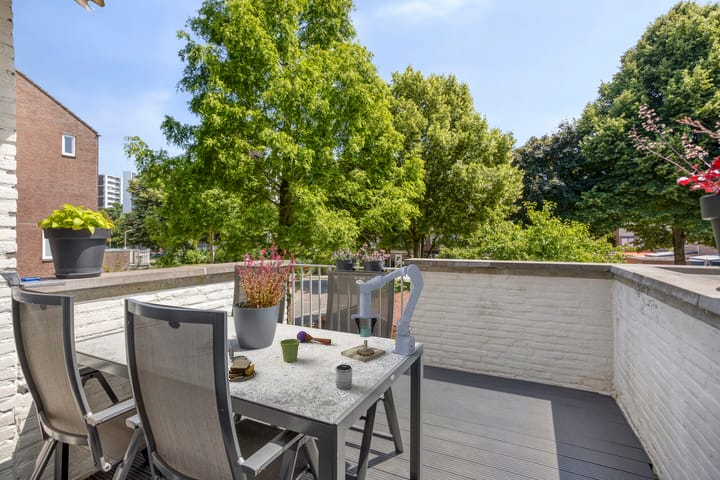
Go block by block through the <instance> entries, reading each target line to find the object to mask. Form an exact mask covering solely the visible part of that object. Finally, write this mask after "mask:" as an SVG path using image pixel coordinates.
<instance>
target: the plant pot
mask: <svg viewBox="0 0 720 480" xmlns="http://www.w3.org/2000/svg"><path fill="white" fill-rule="evenodd" d="M300 343H301V342H300V340H298V339H297V338H287V339H283V340H280V341H279V344H280V347H281V352H282V358H283V362H286V363H287V362H290V363H293V362H295V361H297V359H298V352H299V346H300Z"/></svg>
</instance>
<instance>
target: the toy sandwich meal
mask: <svg viewBox="0 0 720 480" xmlns="http://www.w3.org/2000/svg"><path fill="white" fill-rule="evenodd" d="M228 371H229V378H230V381H229V382H240V381H239V380H242V381H246V380H248V379H251V378H252V377H254V376H255V375H256V370H255V364H254V363H253V364H252V360H251V359H246V360H234V361H232V364H231V365H230V368H229V369H228Z"/></svg>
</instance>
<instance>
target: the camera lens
mask: <svg viewBox="0 0 720 480" xmlns="http://www.w3.org/2000/svg"><path fill="white" fill-rule="evenodd" d="M352 385H353V367H352V366H351V365H350V364H341V363H340V364H339V365H337V366H336V368H335V386H336V389H339V390H341V391H342V390H344V391H345V390H350V389H351V388H352Z"/></svg>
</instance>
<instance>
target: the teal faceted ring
mask: <svg viewBox="0 0 720 480" xmlns="http://www.w3.org/2000/svg"><path fill="white" fill-rule="evenodd" d="M359 337H360V338H370V337H372V334H371V326H360V334H359Z"/></svg>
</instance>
